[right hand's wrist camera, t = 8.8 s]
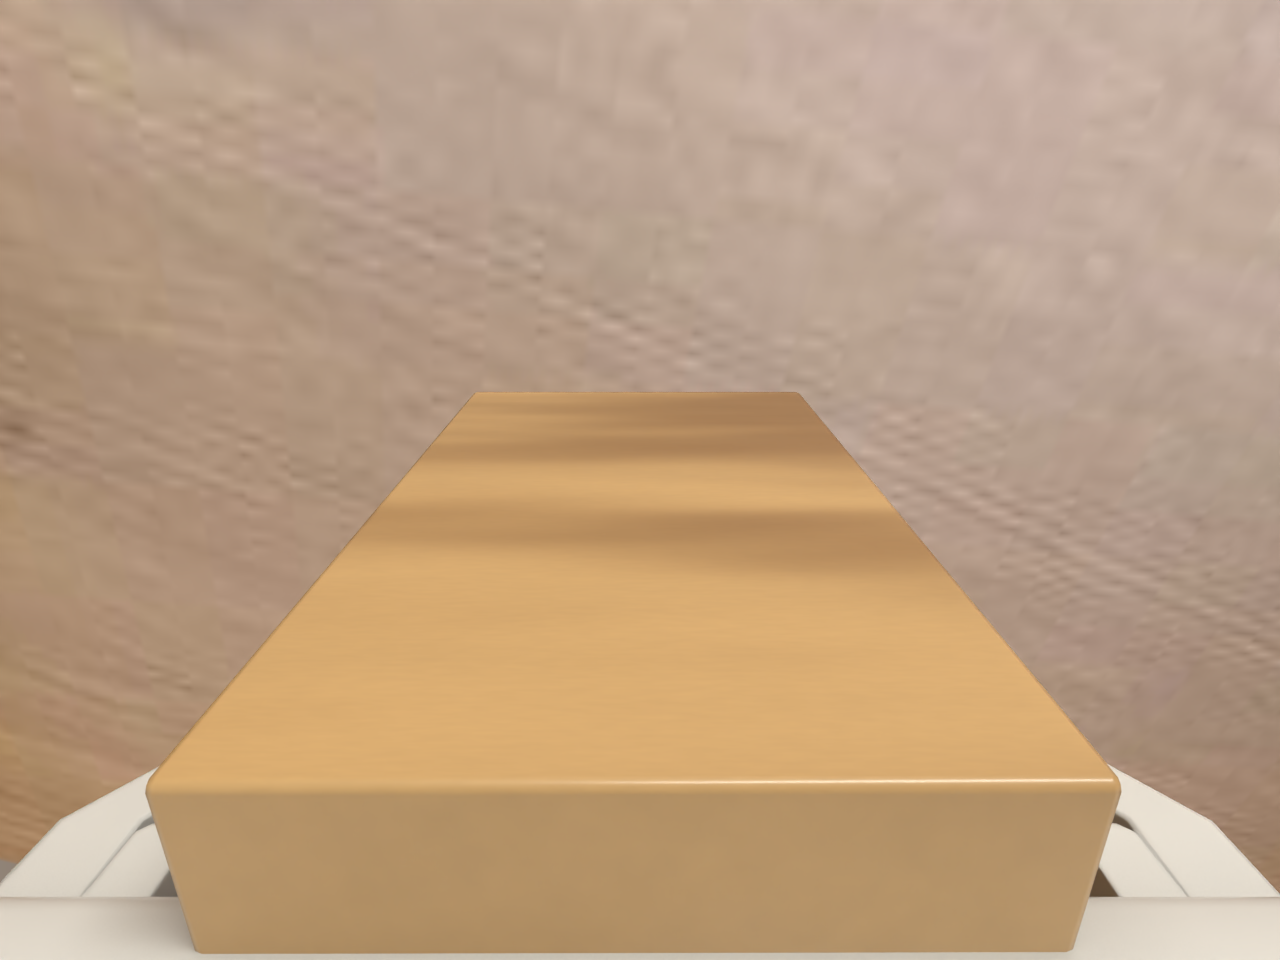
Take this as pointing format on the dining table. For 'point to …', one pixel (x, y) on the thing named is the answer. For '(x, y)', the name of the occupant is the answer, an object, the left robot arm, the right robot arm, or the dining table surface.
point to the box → (634, 714)
